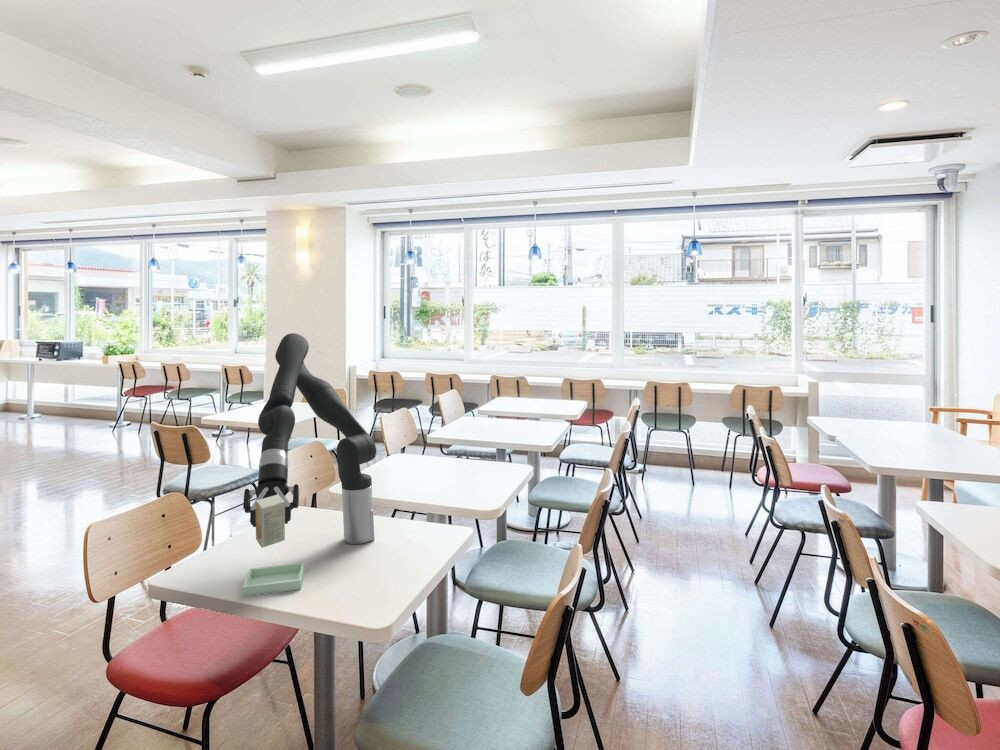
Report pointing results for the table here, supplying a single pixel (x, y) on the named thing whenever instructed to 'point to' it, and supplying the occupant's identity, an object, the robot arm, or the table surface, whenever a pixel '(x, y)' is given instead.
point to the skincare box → (270, 520)
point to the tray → (274, 579)
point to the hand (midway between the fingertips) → (270, 524)
